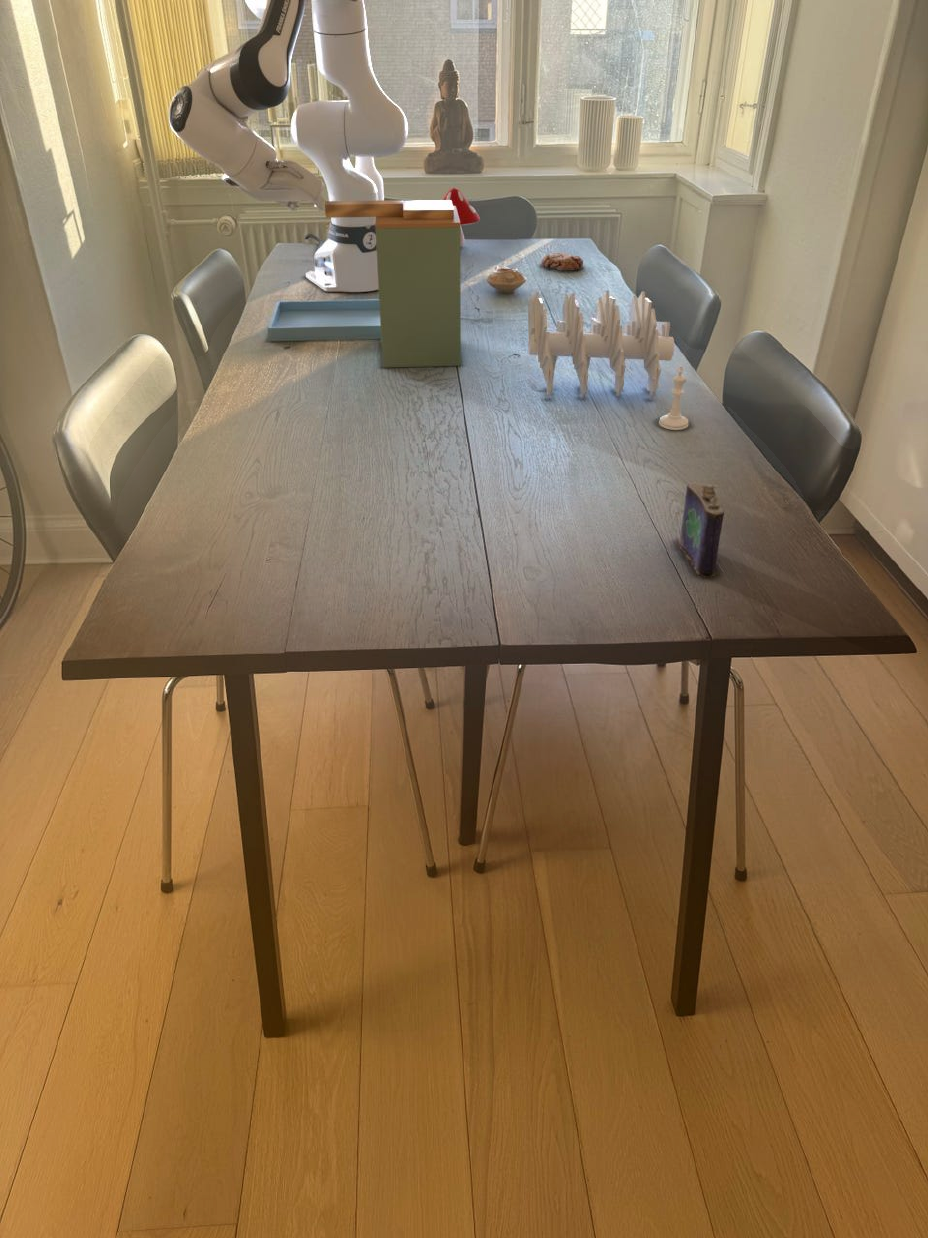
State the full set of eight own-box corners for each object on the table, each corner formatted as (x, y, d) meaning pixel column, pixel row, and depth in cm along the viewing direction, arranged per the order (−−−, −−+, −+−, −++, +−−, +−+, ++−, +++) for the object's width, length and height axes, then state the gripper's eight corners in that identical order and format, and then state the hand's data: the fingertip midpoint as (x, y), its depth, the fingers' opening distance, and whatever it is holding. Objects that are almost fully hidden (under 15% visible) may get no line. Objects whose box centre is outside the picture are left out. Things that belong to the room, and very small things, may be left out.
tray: (269, 341, 194) (267, 327, 192) (277, 313, 209) (276, 300, 208) (423, 338, 196) (423, 324, 194) (421, 310, 211) (420, 298, 209)
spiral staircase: (664, 422, 170) (525, 416, 169) (655, 350, 179) (522, 344, 177) (690, 346, 154) (537, 339, 153) (679, 271, 163) (534, 265, 162)
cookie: (542, 261, 246) (543, 249, 244) (583, 262, 244) (584, 250, 243) (539, 271, 237) (540, 259, 236) (582, 273, 236) (582, 260, 234)
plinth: (382, 367, 182) (375, 223, 167) (383, 343, 193) (376, 206, 178) (460, 365, 182) (460, 222, 167) (456, 341, 194) (455, 205, 179)
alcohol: (392, 252, 253) (387, 126, 236) (376, 260, 246) (369, 131, 229) (363, 248, 256) (356, 124, 239) (347, 256, 249) (338, 129, 232)
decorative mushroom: (423, 252, 253) (421, 191, 244) (433, 240, 264) (432, 181, 255) (475, 254, 251) (475, 193, 242) (483, 242, 262) (483, 183, 253)
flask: (675, 541, 127) (686, 468, 121) (696, 540, 127) (708, 467, 121) (698, 578, 120) (711, 502, 113) (721, 576, 120) (735, 501, 114)
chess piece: (690, 420, 161) (698, 362, 155) (686, 431, 157) (694, 373, 151) (661, 416, 162) (668, 359, 156) (656, 427, 158) (663, 369, 152)
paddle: (324, 220, 169) (323, 207, 167) (327, 210, 175) (326, 198, 174) (453, 218, 170) (453, 205, 169) (451, 209, 176) (451, 196, 175)
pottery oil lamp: (516, 278, 230) (528, 254, 225) (516, 309, 223) (529, 285, 218) (482, 266, 228) (493, 242, 222) (482, 297, 221) (493, 273, 215)
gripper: (292, 144, 162) (350, 191, 173) (230, 148, 176) (287, 192, 186) (278, 179, 162) (336, 223, 173) (218, 180, 176) (275, 222, 186)
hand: (310, 207), depth 180 cm, fingers open, 8 cm apart
